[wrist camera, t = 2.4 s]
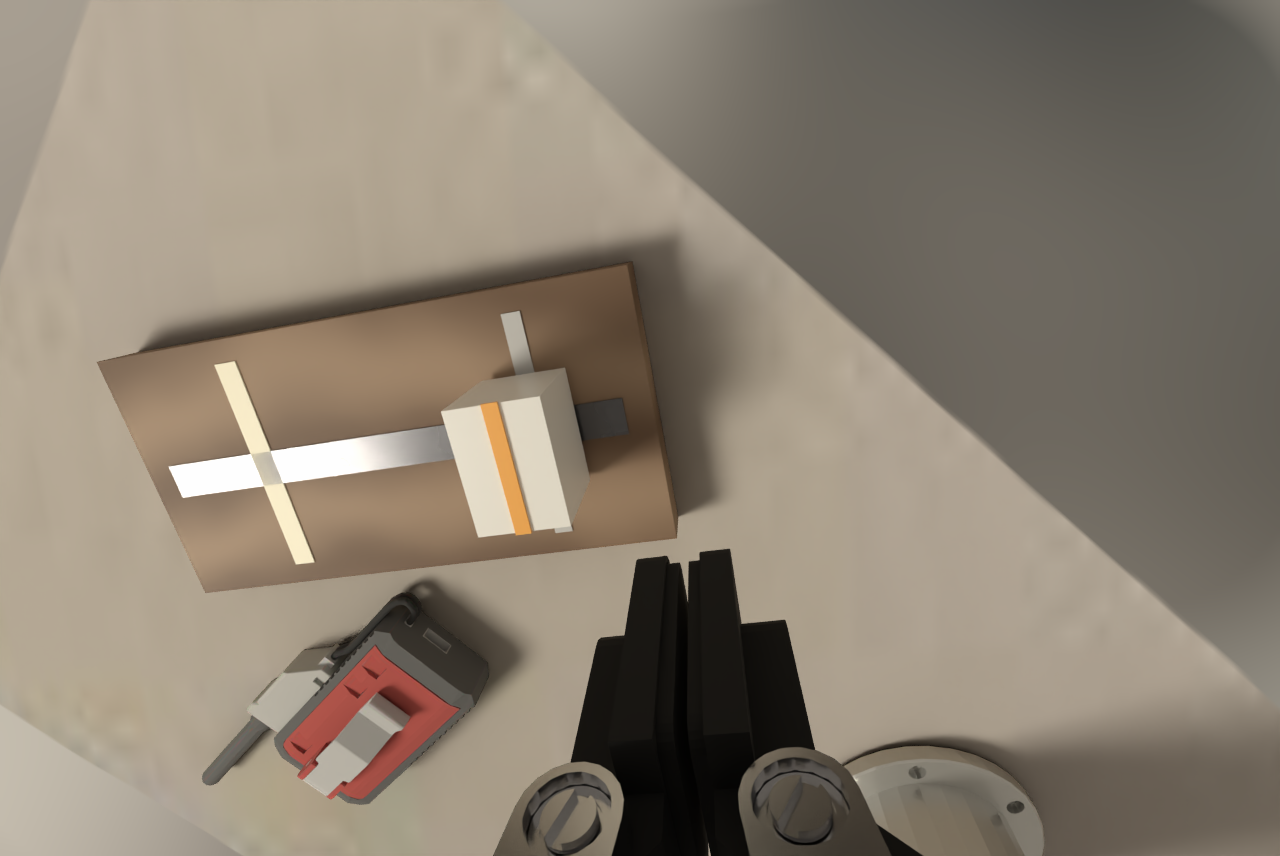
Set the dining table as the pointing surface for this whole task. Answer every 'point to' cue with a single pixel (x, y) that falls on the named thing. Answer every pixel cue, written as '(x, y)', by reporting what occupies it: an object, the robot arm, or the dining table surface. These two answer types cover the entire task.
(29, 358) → the dining table surface
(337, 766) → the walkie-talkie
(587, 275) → the brown board with strips
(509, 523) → the fader
